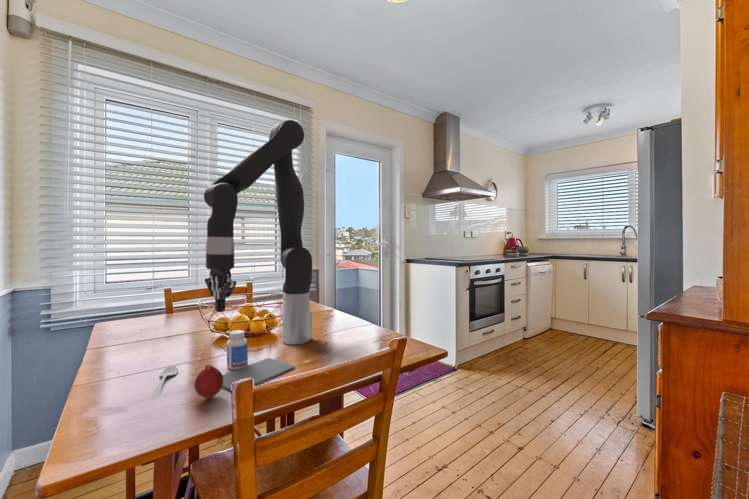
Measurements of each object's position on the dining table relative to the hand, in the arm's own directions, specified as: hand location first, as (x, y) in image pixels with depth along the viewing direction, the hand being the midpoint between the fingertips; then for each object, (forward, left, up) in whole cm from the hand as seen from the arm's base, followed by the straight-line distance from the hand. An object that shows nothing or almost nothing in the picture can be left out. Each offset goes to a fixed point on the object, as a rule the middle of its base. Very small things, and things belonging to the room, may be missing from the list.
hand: (220, 311), depth 96 cm
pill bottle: (0, +8, -15) cm, 17 cm away
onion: (+14, +20, -15) cm, 28 cm away
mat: (+1, +17, -15) cm, 23 cm away
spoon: (+18, +4, -15) cm, 24 cm away
